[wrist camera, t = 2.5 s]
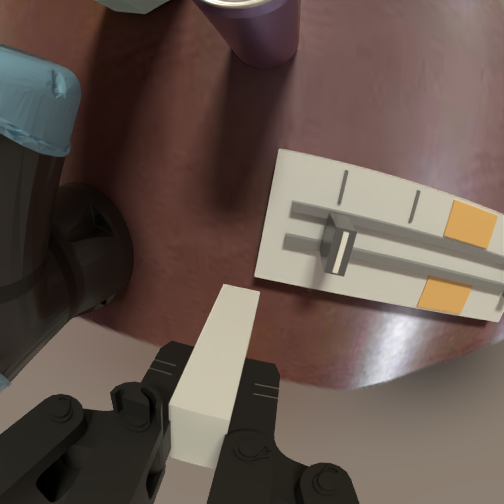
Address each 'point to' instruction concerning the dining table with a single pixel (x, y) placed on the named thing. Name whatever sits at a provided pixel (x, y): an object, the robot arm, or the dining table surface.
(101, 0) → the water bottle
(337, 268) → the fader
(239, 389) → the robot arm
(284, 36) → the beverage can
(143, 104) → the dining table surface
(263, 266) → the console
